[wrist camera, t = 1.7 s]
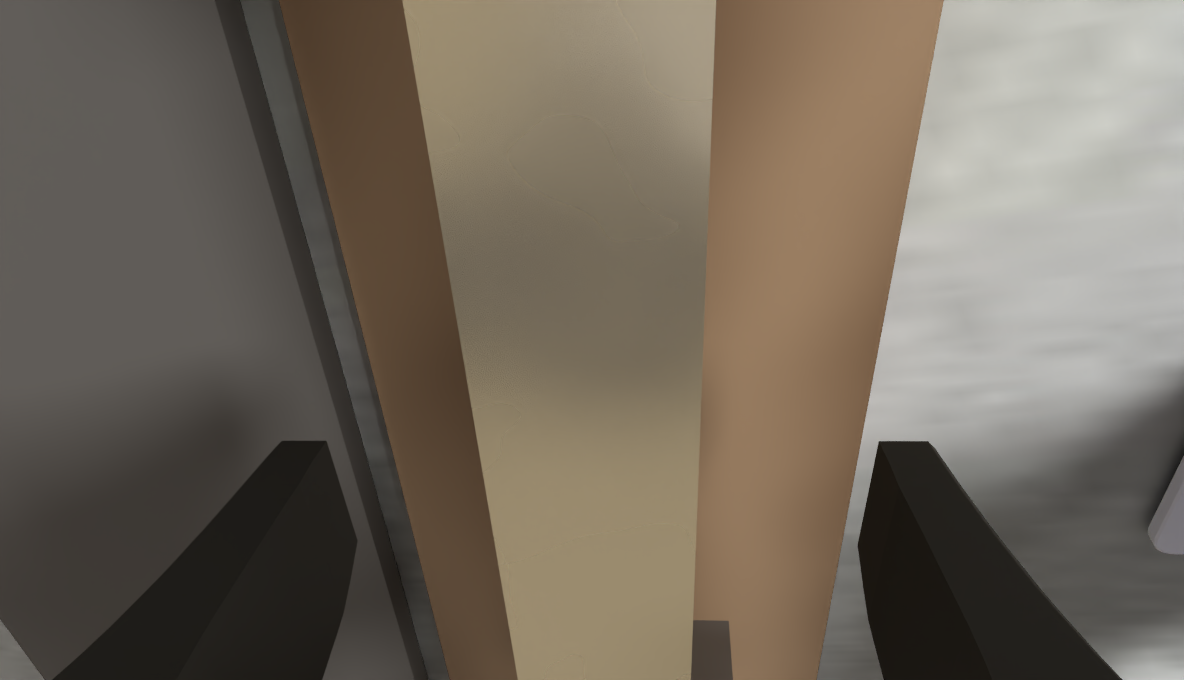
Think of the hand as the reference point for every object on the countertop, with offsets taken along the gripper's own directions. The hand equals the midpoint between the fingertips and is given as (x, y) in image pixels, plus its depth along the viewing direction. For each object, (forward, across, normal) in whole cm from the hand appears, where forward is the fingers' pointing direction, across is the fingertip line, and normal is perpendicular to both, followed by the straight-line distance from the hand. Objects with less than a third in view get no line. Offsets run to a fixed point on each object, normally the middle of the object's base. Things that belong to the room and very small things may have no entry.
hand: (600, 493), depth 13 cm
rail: (0, 0, 0) cm, 0 cm away
